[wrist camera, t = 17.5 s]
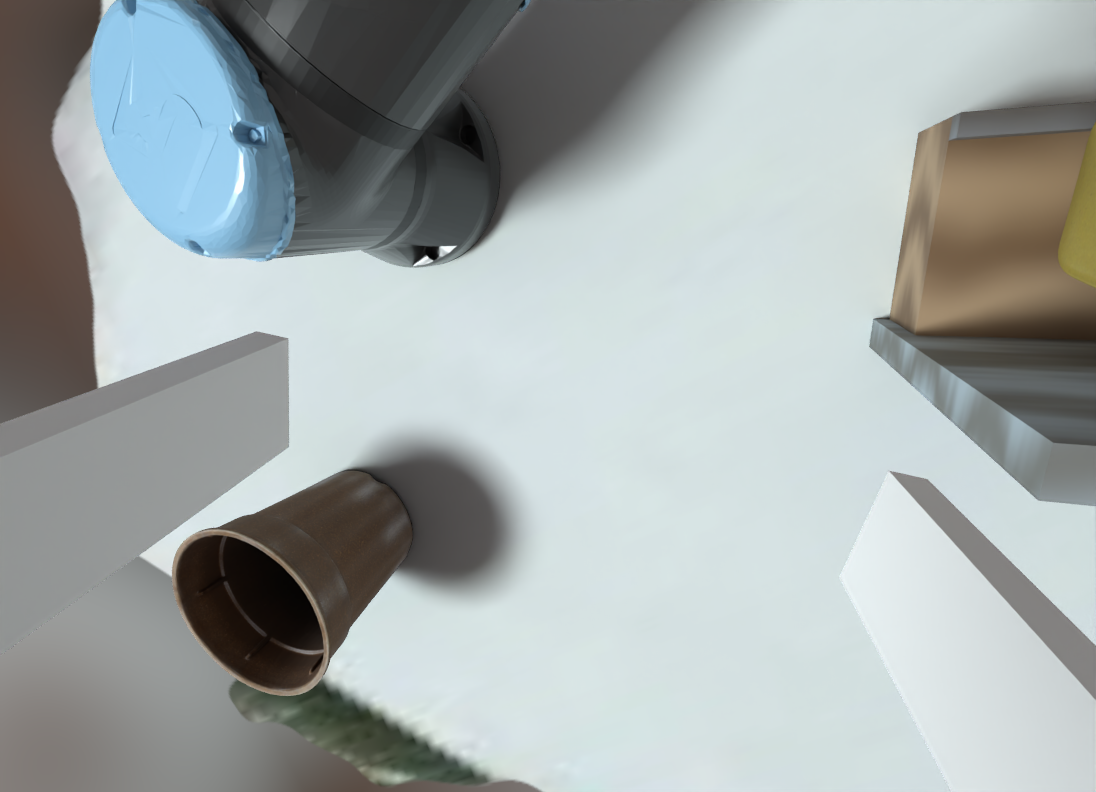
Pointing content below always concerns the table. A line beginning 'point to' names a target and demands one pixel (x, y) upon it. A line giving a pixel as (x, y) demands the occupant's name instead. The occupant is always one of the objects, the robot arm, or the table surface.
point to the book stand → (1000, 294)
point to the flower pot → (1082, 222)
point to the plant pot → (291, 579)
